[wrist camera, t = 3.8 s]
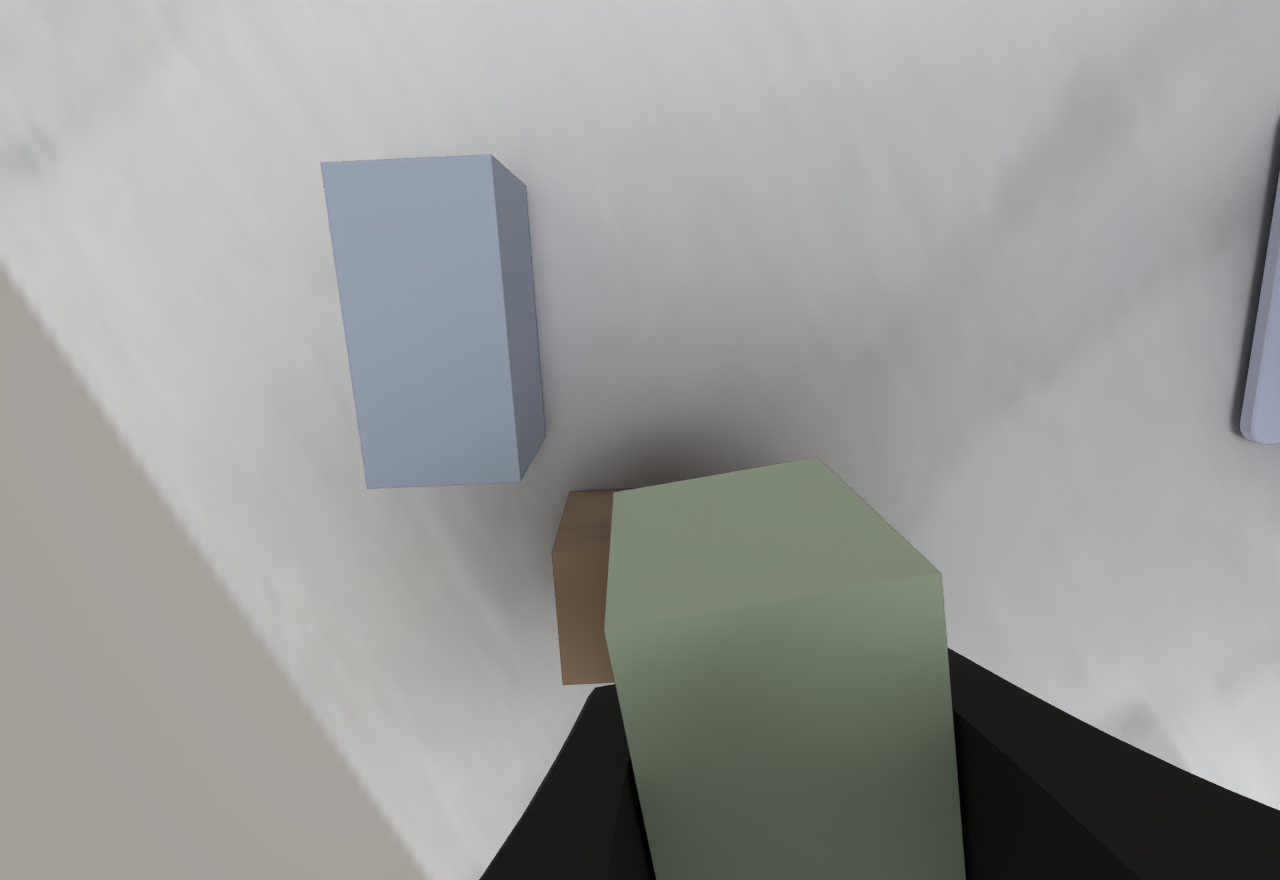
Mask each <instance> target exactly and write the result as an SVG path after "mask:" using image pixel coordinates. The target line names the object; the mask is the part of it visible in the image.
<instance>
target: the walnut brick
mask: <svg viewBox="0 0 1280 880" xmlns="http://www.w3.org/2000/svg"><path fill="white" fill-rule="evenodd" d="M625 490H631V489H617V490H597V491H576V492H569V495H568V499H567V502H566V506H565V509H564V512H563V516H562V519H561V523H560V526H559V529H558V533H557V536H556V540H555V543H554V546H553V550H552V561H553V573H554V585H555V597H556V609H557V621H558V633H559V645H560V657H561V670H562V682H563V685H575V684H595V683H615V680H614V675H613V670H612V665H611V660H610V656H609V651H608V646H607V641H606V636H605V632H604V626H605V611H606V597H607V582H608V567H609V553H610V538H611V523H612V509H613V494H614V492H619V491H625Z"/></svg>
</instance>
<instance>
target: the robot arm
mask: <svg viewBox="0 0 1280 880" xmlns="http://www.w3.org/2000/svg"><path fill="white" fill-rule="evenodd" d="M1240 431H1241V433H1242V434H1243V436H1244V437H1245V438H1247V439H1248V440H1250V441H1253V442H1257V443H1262V444H1280V173H1279V179H1278V186H1277V192H1276V198H1275V205H1274V211H1273V217H1272V224H1271V230H1270V236H1269V243H1268V249H1267V255H1266V262H1265V268H1264V274H1263V281H1262V287H1261V294H1260V300H1259V306H1258V313H1257V319H1256V325H1255V332H1254V338H1253V344H1252V351H1251V357H1250V363H1249V370H1248V376H1247V382H1246V389H1245V395H1244V401H1243V408H1242V414H1241V420H1240ZM947 649H948V662H949V674H950V687H951V699H952V712H953V725H954V737H955V750H956V762H957V775H958V787H959V800H960V813H961V825H962V838H963V850H964V863H965V875H966V880H1280V811H1279V810H1277V809H1274V808H1272V807H1269V806H1267V805H1264V804H1262V803H1259V802H1257V801H1255V800H1252V799H1250V798H1247V797H1245V796H1242V795H1240V794H1237V793H1235V792H1233V791H1230V790H1228V789H1225V788H1223V787H1221V786H1219V785H1216V784H1214V783H1212V782H1209V781H1207V780H1205V779H1203V778H1200V777H1198V776H1196V775H1193V774H1191V773H1189V772H1187V771H1185V770H1182V769H1180V768H1178V767H1176V766H1174V765H1172V764H1170V763H1168V762H1165V761H1163V760H1161V759H1159V758H1157V757H1155V756H1153V755H1151V754H1149V753H1146V752H1144V751H1142V750H1140V749H1138V748H1136V747H1134V746H1132V745H1130V744H1128V743H1125V742H1123V741H1121V740H1119V739H1117V738H1115V737H1113V736H1111V735H1109V734H1107V733H1105V732H1103V731H1101V730H1099V729H1097V728H1095V727H1093V726H1091V725H1089V724H1087V723H1085V722H1083V721H1081V720H1079V719H1077V718H1075V717H1073V716H1072V715H1070V714H1068V713H1066V712H1064V711H1062V710H1060V709H1058V708H1056V707H1054V706H1053V705H1051V704H1049V703H1047V702H1045V701H1043V700H1041V699H1039V698H1038V697H1036V696H1034V695H1032V694H1030V693H1028V692H1026V691H1025V690H1023V689H1021V688H1019V687H1017V686H1016V685H1014V684H1012V683H1010V682H1008V681H1006V680H1005V679H1003V678H1001V677H999V676H997V675H996V674H994V673H992V672H990V671H989V670H987V669H985V668H983V667H981V666H980V665H978V664H976V663H974V662H972V661H971V660H969V659H967V658H965V657H964V656H962V655H960V654H958V653H956V652H955V651H953V650H951V649H949V648H947ZM479 880H656V876H655V872H654V867H653V862H652V857H651V852H650V848H649V843H648V838H647V833H646V828H645V824H644V819H643V814H642V809H641V804H640V800H639V795H638V790H637V785H636V780H635V776H634V771H633V766H632V761H631V756H630V752H629V747H628V742H627V737H626V732H625V728H624V723H623V718H622V713H621V708H620V704H619V699H618V694H617V689H616V684H613V685H607V686H601V687H595V689H594V690H593V691H592V692H591V694H590V695H589V696H588V698H587V700H586V702H585V704H584V706H583V708H582V710H581V712H580V714H579V716H578V718H577V720H576V722H575V724H574V726H573V728H572V730H571V732H570V734H569V736H568V738H567V739H566V741H565V743H564V745H563V747H562V749H561V750H560V752H559V754H558V756H557V758H556V760H555V761H554V763H553V765H552V766H551V768H550V770H549V772H548V773H547V775H546V777H545V778H544V780H543V782H542V783H541V785H540V787H539V788H538V790H537V792H536V794H535V795H534V797H533V799H532V800H531V802H530V804H529V805H528V807H527V809H526V810H525V812H524V813H523V815H522V817H521V818H520V820H519V821H518V823H517V824H516V826H515V827H514V829H513V830H512V832H511V833H510V835H509V836H508V838H507V839H506V841H505V842H504V844H503V845H502V847H501V848H500V850H499V851H498V853H497V854H496V856H495V857H494V859H493V860H492V862H491V863H490V865H489V866H488V868H487V869H486V871H485V872H484V874H483V875H482V877H481V878H480V879H479Z"/></svg>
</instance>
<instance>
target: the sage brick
mask: <svg viewBox="0 0 1280 880" xmlns="http://www.w3.org/2000/svg"><path fill="white" fill-rule="evenodd" d="M604 632H605V636H606V641H607V646H608V651H609V656H610V660H611V665H612V670H613V675H614V680H615V684H616V689H617V694H618V699H619V704H620V708H621V713H622V718H623V723H624V728H625V732H626V737H627V742H628V747H629V752H630V756H631V761H632V766H633V771H634V776H635V780H636V785H637V790H638V795H639V800H640V804H641V809H642V814H643V819H644V824H645V828H646V833H647V838H648V843H649V848H650V852H651V857H652V862H653V867H654V872H655V876H656V880H966V875H965V863H964V850H963V838H962V825H961V813H960V800H959V787H958V775H957V762H956V750H955V737H954V725H953V712H952V699H951V687H950V674H949V662H948V649H947V637H946V624H945V612H944V599H943V586H942V574H941V572H940V571H939V570H938V569H937V568H936V567H934V566H933V565H932V564H931V563H930V562H929V561H928V560H927V559H926V558H925V557H924V556H923V555H922V554H921V553H920V552H918V551H917V550H916V549H915V548H914V547H913V546H912V545H911V544H910V543H909V542H908V541H907V540H906V539H905V538H904V537H902V536H901V535H900V534H899V533H898V532H897V531H896V530H895V529H894V528H893V527H892V526H891V525H890V524H889V523H888V522H886V521H885V520H884V519H883V518H882V517H881V516H880V515H879V514H878V513H877V512H876V511H875V510H874V509H873V508H871V507H870V506H869V505H868V504H867V503H866V502H865V501H864V500H863V499H862V498H861V497H860V496H859V495H858V494H857V493H855V492H854V491H853V490H852V489H851V488H850V487H849V486H848V485H847V484H846V483H845V482H844V481H843V480H842V479H841V478H839V477H838V476H837V475H836V474H835V473H834V472H833V471H832V470H831V469H830V468H829V467H828V466H827V465H826V464H825V463H823V462H822V461H821V460H820V459H819V458H818V457H814V458H809V459H803V460H797V461H792V462H786V463H780V464H774V465H769V466H763V467H757V468H751V469H746V470H740V471H734V472H728V473H723V474H717V475H711V476H706V477H700V478H694V479H688V480H683V481H677V482H671V483H665V484H660V485H654V486H648V487H642V488H637V489H631V490H625V491H619V492H614V494H613V509H612V523H611V538H610V553H609V567H608V582H607V597H606V611H605V626H604Z"/></svg>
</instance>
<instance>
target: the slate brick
mask: <svg viewBox="0 0 1280 880" xmlns="http://www.w3.org/2000/svg"><path fill="white" fill-rule="evenodd" d="M320 163H321V170H322V177H323V184H324V191H325V198H326V205H327V212H328V219H329V226H330V233H331V240H332V247H333V254H334V261H335V268H336V275H337V282H338V289H339V296H340V303H341V310H342V317H343V324H344V331H345V338H346V345H347V352H348V358H349V365H350V372H351V379H352V386H353V393H354V400H355V407H356V414H357V421H358V428H359V435H360V442H361V449H362V456H363V463H364V470H365V477H366V484H367V489H378V488H399V487H420V486H441V485H462V484H483V483H505V482H520V481H521V480H522V478H523V476H524V474H525V472H526V471H527V469H528V467H529V465H530V463H531V462H532V460H533V458H534V456H535V454H536V453H537V451H538V449H539V447H540V445H541V444H542V442H543V440H544V438H545V436H546V435H545V423H544V410H543V397H542V385H541V372H540V360H539V347H538V335H537V322H536V309H535V297H534V284H533V272H532V259H531V247H530V234H529V221H528V209H527V196H526V185H525V184H523V183H522V182H521V181H520V180H519V179H518V178H517V177H516V176H514V175H513V174H512V173H511V172H510V171H509V170H508V169H507V168H506V167H504V166H503V165H502V164H501V163H500V162H499V161H498V160H497V159H495V158H494V157H493V156H492V155H491V154H490V155H468V156H447V157H426V158H405V159H383V160H362V161H341V162H320Z"/></svg>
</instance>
